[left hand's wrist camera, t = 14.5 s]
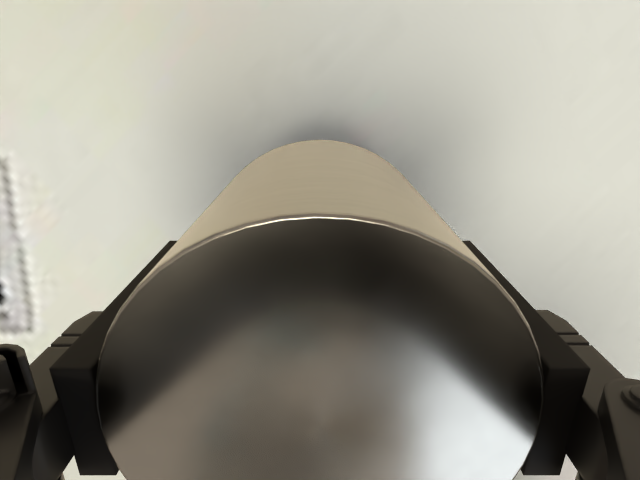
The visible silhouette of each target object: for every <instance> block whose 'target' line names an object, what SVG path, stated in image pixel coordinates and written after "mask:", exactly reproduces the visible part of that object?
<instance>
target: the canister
mask: <svg viewBox="0 0 640 480" xmlns="http://www.w3.org/2000/svg"><path fill="white" fill-rule="evenodd" d="M543 402H544V379H543V370H542V365H541V360H540V355H539V350H538V347H537V344H536V342H535V339H534V336H533V334H532V331H531V329H530V326H529V324H528V322H527V321H526V319H525V317H524V316H523V314H522V312H521V311H520V309H519V307H518V306H517V304H516V302H515V301H514V300H513V299H512V297H511V296H510V295H509V294H508V293H507V291H506V290H505V289H504V288H503V287H502V285H501V284H500V283H499V282H498V281H497V280H496V278H495V277H494V276H493V275H492V274H491V273H490V272H489V271H488V270H487V268H486V267H485V266H484V265H483V264H482V263H481V262H480V261H479V260H478V258H477V257H476V256H475V255H474V254H473V253H472V252H471V251H470V249H469V248H468V247H467V246H466V245H465V244H464V243H463V242H462V241H461V239H460V238H459V237H458V236H457V235H456V234H455V233H454V232H453V231H452V229H451V228H450V227H449V226H448V225H447V224H446V223H445V222H444V220H443V219H442V218H441V217H440V216H439V215H438V214H437V213H436V212H435V210H434V209H433V208H432V207H431V206H430V205H429V204H428V203H427V201H426V200H425V199H424V198H423V197H422V196H421V195H420V194H419V193H418V191H417V190H416V189H415V188H414V187H413V186H412V185H411V184H410V183H409V181H408V180H407V179H406V178H405V177H404V176H403V175H402V174H401V173H400V172H399V171H398V170H397V169H396V168H395V167H394V166H393V165H391V164H390V163H389V162H387V161H386V160H384V159H383V158H381V157H380V156H378V155H377V154H375V153H373V152H371V151H369V150H366V149H364V148H362V147H359V146H356V145H353V144H349V143H345V142H339V141H334V140H308V141H300V142H295V143H291V144H287V145H284V146H281V147H278V148H276V149H273V150H271V151H269V152H267V153H265V154H263V155H262V156H260V157H258V158H257V159H255V160H254V161H253V162H251V163H250V164H248V165H247V166H246V167H245V168H244V169H243V170H242V171H241V172H240V173H239V174H238V175H237V176H236V177H235V178H234V179H233V180H232V181H231V182H230V183H229V184H228V185H227V187H226V188H225V189H224V190H223V191H222V192H221V193H220V194H219V195H218V197H217V198H216V199H215V200H214V201H213V202H212V203H211V204H210V205H209V207H208V208H207V209H206V210H205V211H204V212H203V213H202V214H201V215H200V217H199V218H198V219H197V220H196V221H195V222H194V223H193V224H192V226H191V227H190V228H189V229H188V230H187V231H186V232H185V233H184V234H183V236H182V237H181V238H180V239H179V240H178V241H177V242H176V243H175V244H174V246H173V247H172V248H171V249H170V250H169V251H168V252H167V253H166V254H165V256H164V257H163V258H162V259H161V260H160V261H159V262H158V263H157V264H156V266H155V267H154V268H153V269H152V270H151V271H150V272H149V273H148V275H147V276H146V277H145V278H144V279H143V280H142V281H141V282H140V283H139V285H138V286H137V287H136V288H135V289H134V291H133V292H132V293H131V295H130V296H129V297H128V299H127V300H126V301H125V303H124V304H123V305H122V306H121V308H120V309H119V311H118V313H117V315H116V317H115V319H114V320H113V322H112V324H111V326H110V328H109V330H108V332H107V335H106V338H105V341H104V344H103V347H102V350H101V353H100V356H99V363H98V369H97V376H96V407H97V412H98V417H99V423H100V428H101V431H102V434H103V436H104V439H105V442H106V445H107V447H108V450H109V452H110V454H111V455H112V457H113V459H114V461H115V463H116V465H117V466H118V468H119V470H120V471H121V473H122V474H123V475H124V477H125V478H126V479H127V480H513V479H514V478H515V476H516V475H517V473H518V472H519V470H520V469H521V467H522V466H523V464H524V463H525V461H526V459H527V457H528V455H529V453H530V450H531V448H532V446H533V444H534V442H535V438H536V435H537V432H538V429H539V426H540V422H541V417H542V409H543Z"/></svg>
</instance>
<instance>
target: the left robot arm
mask: <svg viewBox="0 0 640 480" xmlns="http://www.w3.org/2000/svg"><path fill="white" fill-rule="evenodd" d="M176 242H177V241H169V242H168V243H167V244H166V246H165V247H164V248H163V249H162V250H161V251H160V252H159V253H158V254H157V255H156V256H155V257H154V258H153V259H152V260H151V261H150V262H149V263H148V265H147V266H146V267H145V268H144V269H143V270H142V271H141V272H140V273H139V274H138V275H137V276H136V277H135V278H134V279H133V280H132V281H131V283H130V284H129V285H128V286H127V287H126V288H125V289H124V290H123V291H122V292H121V293H120V294H119V295H118V296H117V297H116V298H115V299H114V300H113V302H112V303H111V304H110V305H109V306H108V307H107V308H106V309H105V310H104V311H92V312H91V313H89V314H87V315H85V316H84V317H82V318H80V319H78V320H77V321H75V322H74V323H72V324H71V325H70V326H69V327H68V328H67V329H66V330H65V331H64V332H63V333H62V336H61V337H58V338H57V339H56V340H55V341H54V342H53V343H52V344H51V347H48V348H47V349H46V350H45V351H44V352H43V353H42V354H41V355H40V356H39V357H38V358H37V359H36V360H35V361H34V362H32V363H31V364H30V365H29V363H28V360H27V357H26V353H25V350H24V349H23V348H22V347H20V346H18V345H13V344H0V480H65V479H64V475H63V471H64V469H65V468H66V466H67V465H68V463H69V462H70V460H71V459H72V457H73V456H75V459H76V463H77V466H78V470H79V473H80V475H117V473H118V471H119V468H118V466H117V465H116V463H115V461H114V459H113V457H112V455H111V454H110V452H109V450H108V447H107V445H106V442H105V439H104V436H103V434H102V431H101V428H100V423H99V417H98V412H97V407H96V376H97V369H98V363H99V356H100V353H101V350H102V347H103V344H104V341H105V338H106V335H107V332H108V330H109V328H110V326H111V324H112V322H113V320H114V319H115V317H116V315H117V313H118V311H119V309H120V308H121V306H122V305H123V304H124V303H125V301H126V300H127V299H128V297H129V296H130V295H131V293H132V292H133V291H134V289H135V288H136V287H137V286H138V285H139V283H140V282H141V281H142V280H143V279H144V278H145V277H146V276H147V275H148V273H149V272H150V271H151V270H152V269H153V268H154V267H155V266H156V264H157V263H158V262H159V261H160V260H161V259H162V258H163V257H164V256H165V254H166V253H167V252H168V251H169V250H170V249H171V248H172V247H173V246H174V244H175V243H176ZM462 242H463V243H464V244H465V245H466V246H467V247H468V248H469V249H470V251H471V252H472V253H473V254H474V255H475V256H476V257H477V258H478V260H479V261H480V262H481V263H482V264H483V265H484V266H485V267H486V268H487V270H488V271H489V272H490V273H491V274H492V275H493V276H494V277H495V278H496V280H497V281H498V282H499V283H500V284H501V285H502V287H503V288H504V289H505V290H506V291H507V293H508V294H509V295H510V296H511V297H512V299H513V300H514V301H515V302H516V304H517V306H518V307H519V309H520V311H521V312H522V314H523V316H524V317H525V319H526V321H527V322H528V324H529V326H530V329H531V331H532V334H533V336H534V339H535V342H536V344H537V347H538V350H539V355H540V360H541V365H542V370H543V379H544V402H543V409H542V417H541V422H540V426H539V429H538V432H537V435H536V438H535V442H534V444H533V446H532V448H531V450H530V453H529V455H528V457H527V459H526V461H525V463H524V464H523V466H522V467H521V471H522V473H523V475H560V472H561V469H562V465H563V462H564V458H565V455H566V454H567V456H568V457H569V459H570V460H571V462H572V463H573V465H574V466H575V468H576V469H577V471H578V472H577V475H576V479H575V480H640V380H635V379H628V378H625V377H624V376H623V375H622V374H621V373H620V372H619V371H618V370H617V369H615V368H614V367H613V366H612V365H611V364H610V363H609V362H608V361H607V360H606V359H605V358H604V357H603V356H602V355H601V354H600V353H599V352H598V351H597V350H596V349H595V348H594V347H593V346H589V342H588V341H587V340H586V339H584V338H583V337H582V336H581V335H579V334H578V332H577V331H576V330H575V329H574V328H573V327H572V326H571V325H570V324H569V323H568V322H567V321H566V320H564V319H562V318H561V317H559V316H557V315H555V314H554V313H552V312H550V311H548V310H535V309H534V308H533V307H532V306H531V305H530V304H529V303H528V302H527V301H526V300H525V299H524V298H523V297H522V296H521V294H520V293H519V292H518V291H517V290H516V289H515V288H514V287H513V286H512V285H511V284H510V283H509V282H508V281H507V280H506V279H505V278H504V276H503V275H502V274H501V273H500V272H499V271H498V270H497V269H496V268H495V267H494V266H493V265H492V264H491V263H490V262H489V261H488V260H487V258H486V257H485V256H484V255H483V254H482V253H481V252H480V251H479V250H478V249H477V248H476V247H475V246H474V245H473V244H472V243H471V242H470V241H462Z"/></svg>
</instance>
